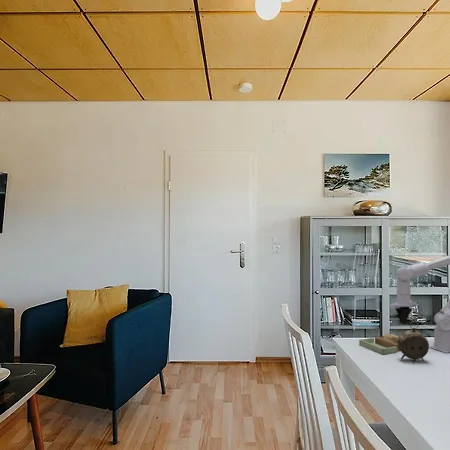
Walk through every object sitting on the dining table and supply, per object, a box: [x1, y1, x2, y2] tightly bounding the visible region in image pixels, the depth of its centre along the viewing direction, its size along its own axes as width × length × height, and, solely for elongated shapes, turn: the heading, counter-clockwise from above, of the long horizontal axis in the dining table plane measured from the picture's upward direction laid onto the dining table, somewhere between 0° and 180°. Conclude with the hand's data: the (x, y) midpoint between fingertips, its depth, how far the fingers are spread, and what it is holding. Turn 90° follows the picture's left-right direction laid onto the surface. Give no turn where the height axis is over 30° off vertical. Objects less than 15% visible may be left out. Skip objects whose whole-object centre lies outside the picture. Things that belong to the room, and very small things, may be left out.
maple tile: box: [383, 333, 400, 342], centre depth 170 cm, size 4×4×2 cm
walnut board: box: [374, 335, 401, 353], centre depth 170 cm, size 9×12×3 cm
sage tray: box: [358, 337, 398, 356], centre depth 167 cm, size 8×14×2 cm, turn 22°
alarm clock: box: [398, 320, 430, 364], centre depth 152 cm, size 11×5×16 cm, turn 84°
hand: (403, 323), depth 172 cm, fingers closed
